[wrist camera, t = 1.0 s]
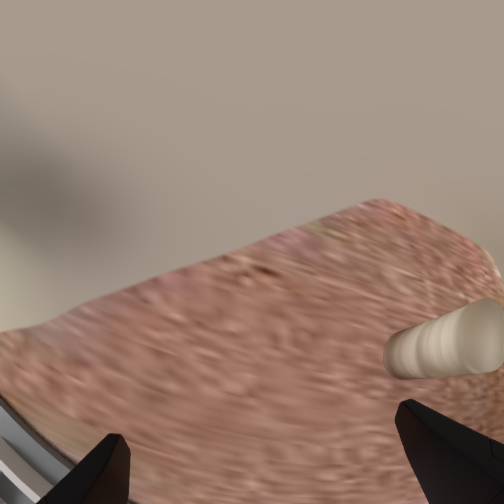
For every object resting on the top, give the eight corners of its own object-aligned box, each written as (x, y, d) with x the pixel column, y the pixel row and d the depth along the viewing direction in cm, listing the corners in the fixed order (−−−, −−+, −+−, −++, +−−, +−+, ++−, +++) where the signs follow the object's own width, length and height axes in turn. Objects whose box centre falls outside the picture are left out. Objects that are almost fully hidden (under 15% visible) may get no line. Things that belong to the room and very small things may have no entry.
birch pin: (429, 339, 23) (514, 311, 13) (416, 385, 22) (503, 379, 12) (392, 323, 24) (471, 287, 14) (376, 371, 22) (458, 361, 12)
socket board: (138, 507, 17) (121, 525, 13) (96, 585, 11) (81, 602, 7) (-14, 381, 20) (-40, 377, 16) (-34, 474, 14) (-55, 478, 10)
